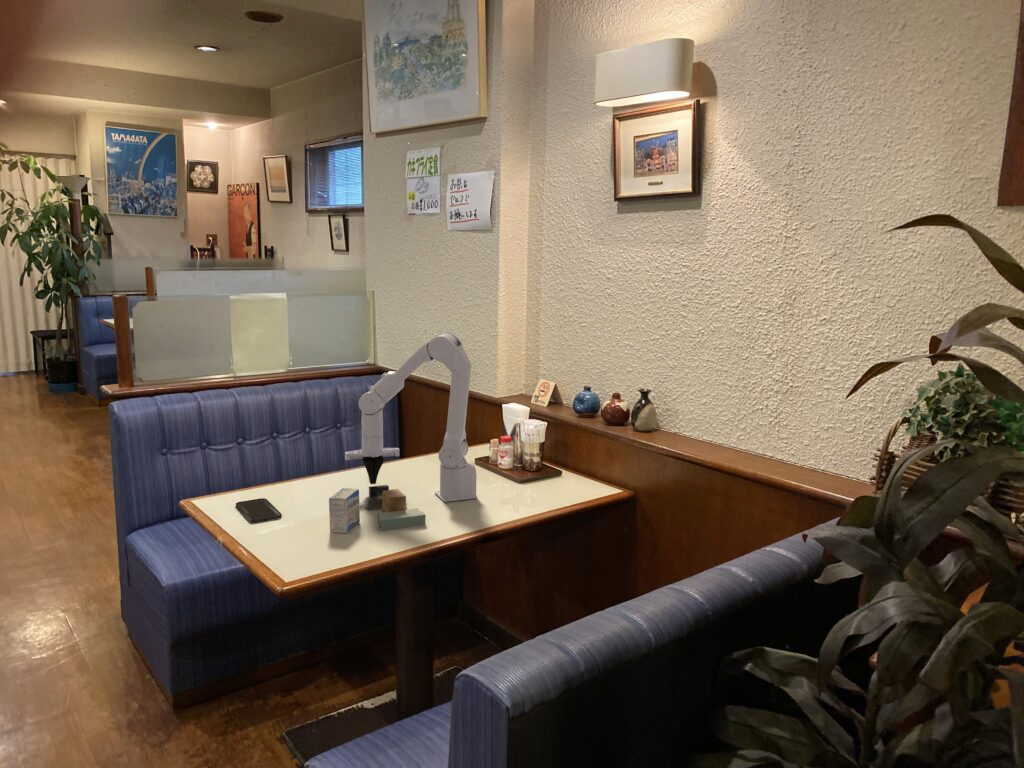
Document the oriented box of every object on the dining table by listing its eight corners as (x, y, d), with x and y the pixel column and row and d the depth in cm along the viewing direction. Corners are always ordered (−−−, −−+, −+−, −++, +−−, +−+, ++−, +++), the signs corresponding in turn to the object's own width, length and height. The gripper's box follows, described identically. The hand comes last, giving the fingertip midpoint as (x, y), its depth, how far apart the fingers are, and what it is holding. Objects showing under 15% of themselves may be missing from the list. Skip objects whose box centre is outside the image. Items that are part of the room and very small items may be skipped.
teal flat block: (419, 517, 191) (419, 508, 191) (425, 524, 187) (425, 514, 186) (375, 523, 187) (375, 513, 186) (381, 530, 182) (381, 520, 182)
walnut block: (398, 511, 196) (397, 488, 194) (405, 519, 190) (405, 496, 189) (382, 513, 194) (382, 490, 193) (389, 521, 189) (389, 498, 187)
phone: (265, 497, 201) (282, 515, 189) (265, 501, 201) (283, 519, 189) (234, 502, 197) (250, 520, 184) (234, 506, 197) (250, 525, 185)
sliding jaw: (396, 494, 208) (396, 483, 207) (406, 505, 200) (405, 493, 199) (359, 499, 203) (359, 487, 203) (368, 510, 195) (367, 498, 195)
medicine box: (347, 534, 179) (346, 499, 178) (329, 532, 180) (328, 497, 179) (360, 522, 187) (359, 488, 185) (343, 521, 188) (342, 487, 186)
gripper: (348, 440, 201) (348, 490, 204) (402, 436, 207) (402, 484, 209) (343, 434, 208) (343, 482, 210) (395, 430, 213) (395, 477, 216)
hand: (372, 483), depth 210 cm, fingers closed
